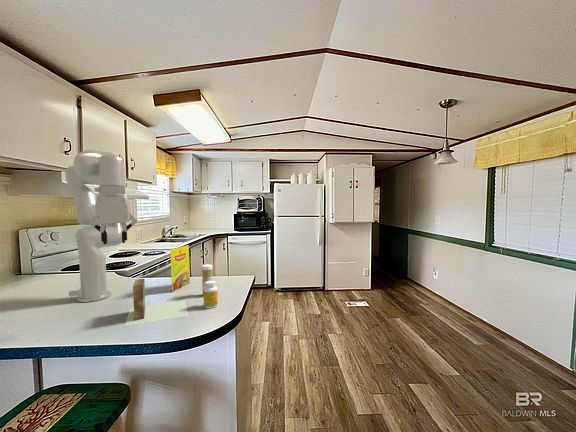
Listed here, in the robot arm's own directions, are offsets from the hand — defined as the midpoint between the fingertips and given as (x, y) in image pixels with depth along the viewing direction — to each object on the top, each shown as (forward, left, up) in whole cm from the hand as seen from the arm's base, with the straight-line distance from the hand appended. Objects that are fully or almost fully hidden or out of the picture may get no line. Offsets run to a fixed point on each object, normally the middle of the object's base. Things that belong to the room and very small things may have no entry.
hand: (114, 242), depth 97 cm
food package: (+23, +31, -28) cm, 47 cm away
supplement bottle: (+32, -2, -28) cm, 42 cm away
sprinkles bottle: (+33, +13, -28) cm, 45 cm away
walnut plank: (+7, 0, -27) cm, 28 cm away
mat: (+13, 0, -27) cm, 30 cm away
